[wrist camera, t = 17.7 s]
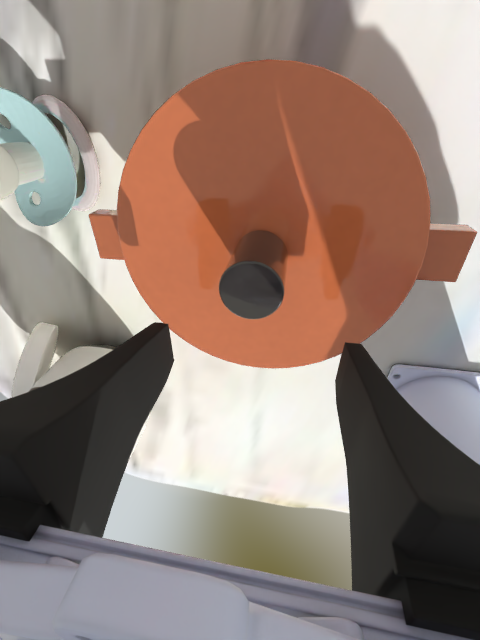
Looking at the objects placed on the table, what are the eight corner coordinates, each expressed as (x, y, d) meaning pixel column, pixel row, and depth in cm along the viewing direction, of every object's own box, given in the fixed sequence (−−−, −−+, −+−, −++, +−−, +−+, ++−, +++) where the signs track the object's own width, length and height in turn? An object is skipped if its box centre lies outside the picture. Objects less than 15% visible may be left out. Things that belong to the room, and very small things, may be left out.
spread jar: (164, 412, 33) (107, 534, 23) (67, 397, 34) (-23, 506, 25) (147, 319, 26) (58, 438, 17) (27, 305, 28) (-118, 407, 18)
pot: (395, 310, 22) (424, 372, 17) (155, 290, 24) (115, 340, 19) (468, 88, 15) (559, 76, 10) (119, 93, 17) (40, 86, 12)
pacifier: (81, 82, 17) (-11, 92, 18) (-7, 70, 12) (-128, 84, 13) (118, 214, 21) (41, 217, 22) (63, 246, 16) (-34, 248, 17)
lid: (377, 366, 18) (397, 435, 14) (153, 343, 20) (117, 398, 16) (479, 57, 10) (585, 26, 6) (95, 68, 12) (1, 48, 8)
